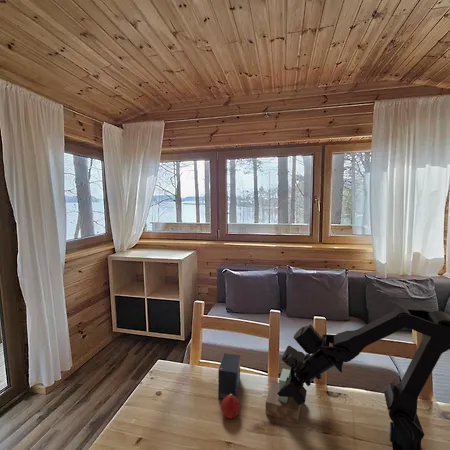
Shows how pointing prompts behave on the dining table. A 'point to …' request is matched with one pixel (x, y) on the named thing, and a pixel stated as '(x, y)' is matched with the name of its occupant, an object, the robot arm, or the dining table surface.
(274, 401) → the slotted box
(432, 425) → the dining table surface
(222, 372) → the small box
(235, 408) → the onion
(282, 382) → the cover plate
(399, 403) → the robot arm
